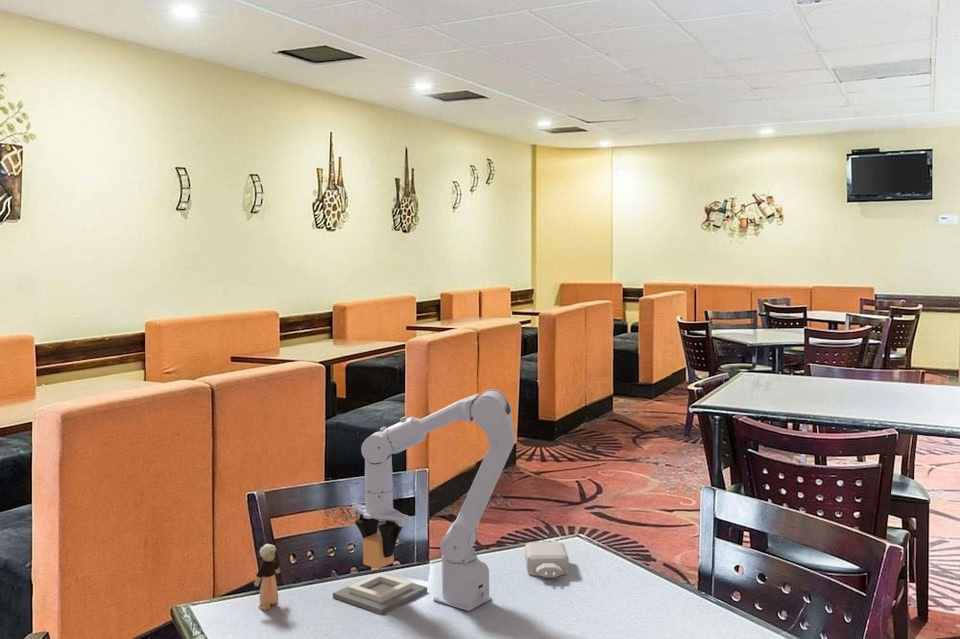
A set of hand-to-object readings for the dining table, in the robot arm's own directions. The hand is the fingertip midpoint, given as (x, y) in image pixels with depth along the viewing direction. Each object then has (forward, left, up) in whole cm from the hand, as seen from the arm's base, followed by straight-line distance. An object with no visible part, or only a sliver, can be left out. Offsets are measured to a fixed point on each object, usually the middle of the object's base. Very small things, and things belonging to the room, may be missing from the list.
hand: (379, 553), depth 168 cm
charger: (-22, -31, -9) cm, 39 cm away
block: (0, 0, -2) cm, 2 cm away
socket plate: (0, 0, -9) cm, 9 cm away
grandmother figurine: (+15, +17, -9) cm, 24 cm away
